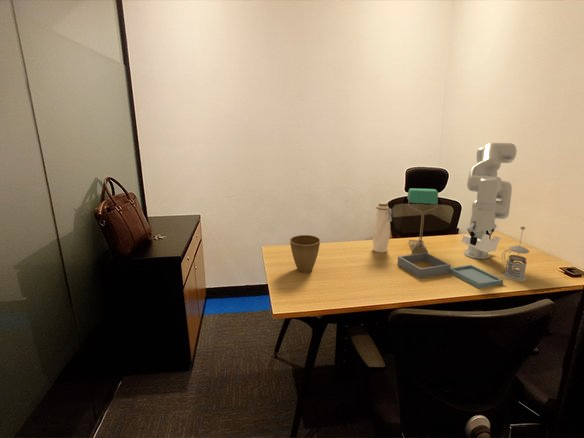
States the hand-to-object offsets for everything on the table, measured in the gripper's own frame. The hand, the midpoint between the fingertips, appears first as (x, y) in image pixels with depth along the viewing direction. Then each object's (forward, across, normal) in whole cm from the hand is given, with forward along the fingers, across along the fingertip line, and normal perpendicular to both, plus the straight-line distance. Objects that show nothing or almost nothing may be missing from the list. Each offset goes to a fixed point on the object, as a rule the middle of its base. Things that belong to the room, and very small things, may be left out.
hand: (479, 243), depth 159 cm
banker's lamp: (+18, -2, -44) cm, 47 cm away
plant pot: (+17, +73, -35) cm, 83 cm away
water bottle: (+18, +21, -47) cm, 54 cm away
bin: (+17, +16, -17) cm, 29 cm away
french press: (+18, -19, +4) cm, 26 cm away
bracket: (+2, 0, 0) cm, 2 cm away
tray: (+17, 0, 0) cm, 17 cm away
